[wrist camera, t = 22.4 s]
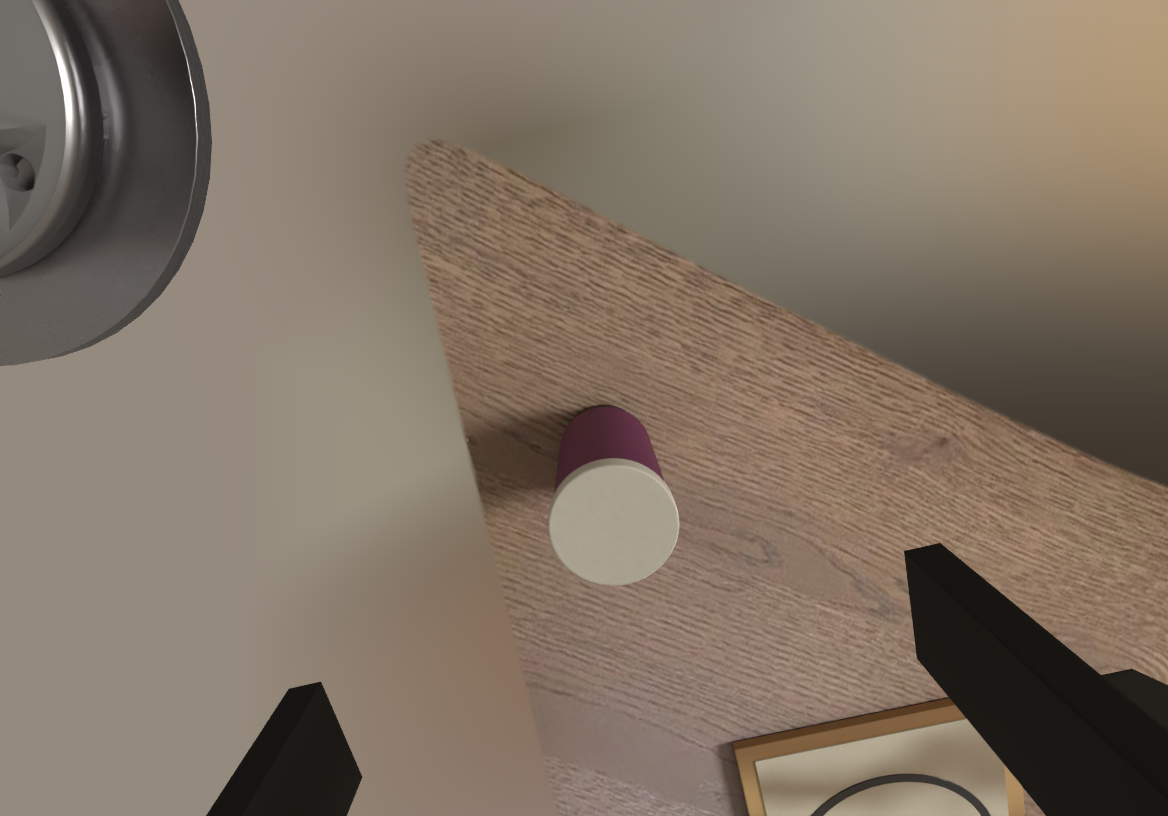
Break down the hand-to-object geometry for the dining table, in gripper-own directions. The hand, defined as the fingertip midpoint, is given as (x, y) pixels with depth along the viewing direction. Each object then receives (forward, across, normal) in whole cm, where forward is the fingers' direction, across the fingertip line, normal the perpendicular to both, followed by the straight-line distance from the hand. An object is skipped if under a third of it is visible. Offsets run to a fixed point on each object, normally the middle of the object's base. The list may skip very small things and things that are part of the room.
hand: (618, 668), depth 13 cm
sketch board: (+17, +11, -30) cm, 37 cm away
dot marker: (+18, 0, -1) cm, 18 cm away
